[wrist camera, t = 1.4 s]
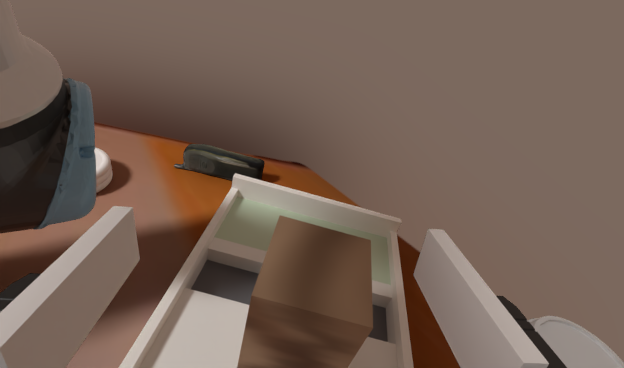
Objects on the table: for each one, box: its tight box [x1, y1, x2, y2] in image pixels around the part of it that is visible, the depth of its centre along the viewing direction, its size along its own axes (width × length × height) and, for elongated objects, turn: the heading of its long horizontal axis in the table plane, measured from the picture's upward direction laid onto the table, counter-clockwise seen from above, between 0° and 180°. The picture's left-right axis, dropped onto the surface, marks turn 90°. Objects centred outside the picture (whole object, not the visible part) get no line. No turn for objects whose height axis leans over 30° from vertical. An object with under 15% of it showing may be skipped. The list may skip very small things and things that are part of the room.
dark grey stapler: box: [174, 144, 264, 181], centre depth 54 cm, size 5×3×15 cm
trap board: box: [119, 173, 414, 368], centre depth 36 cm, size 31×26×6 cm
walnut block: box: [237, 215, 373, 368], centre depth 25 cm, size 7×7×16 cm
